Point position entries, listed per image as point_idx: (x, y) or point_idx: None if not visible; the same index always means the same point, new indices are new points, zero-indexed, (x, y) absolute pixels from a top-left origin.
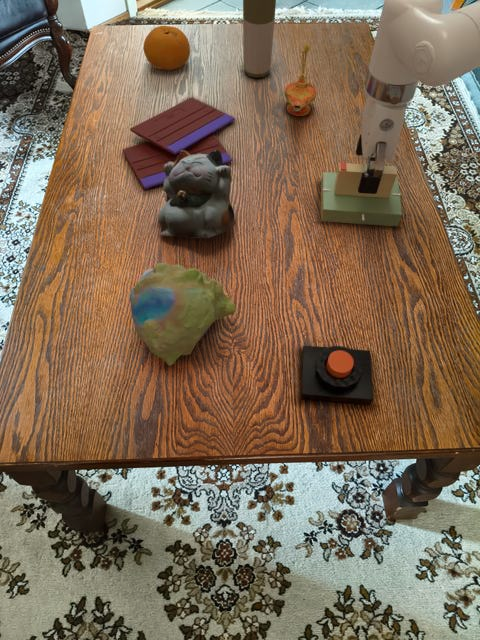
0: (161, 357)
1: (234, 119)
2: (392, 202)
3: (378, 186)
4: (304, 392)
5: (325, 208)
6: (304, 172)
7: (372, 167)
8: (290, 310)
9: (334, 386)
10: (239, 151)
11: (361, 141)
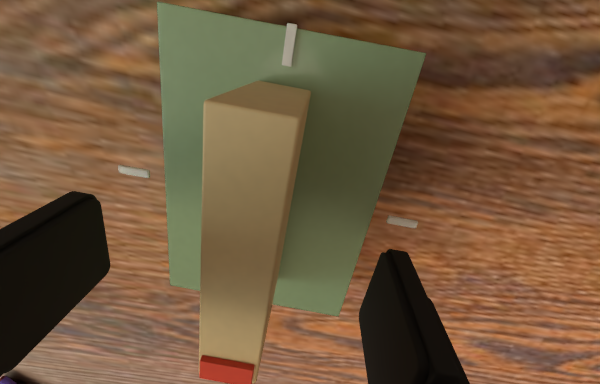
0: None
1: (5, 379)
2: (338, 81)
3: (423, 289)
4: None
5: (336, 312)
6: (150, 279)
7: (227, 258)
8: (583, 376)
9: None
10: (105, 376)
11: (30, 341)
